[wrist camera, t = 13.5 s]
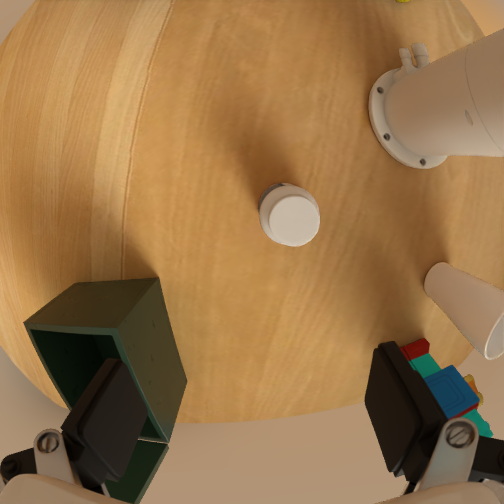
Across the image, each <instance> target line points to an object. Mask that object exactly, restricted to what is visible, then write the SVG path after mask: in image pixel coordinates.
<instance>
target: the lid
mask: <svg viewBox="0 0 504 504" xmlns="http://www.w3.org/2000/svg"><path fill="white" fill-rule="evenodd" d="M168 449H169V447H168V444H165V443H157V442H150V441H143V440H137V443H136V445H135V448H134V450H133V453H132V455H131V458H130V460H129V463H128V466H127V468H126V471H125V474H124V475H123V476H122V477H120V479H119V481H118V482H115V481H112V480H108V479H106V478H105V481H104V484H105V486H106V488H107V491H108V493H109V495H110V497H111V498H114V499H117V500H120V501H123V502H127V503H130V504H139V503H140V501H141V499H142V498H143V496H144V494H145V492H146V490H147V488H148V486H149V485H150V483H151V481H152V479H153V477H154V475H155V474H156V472H157V470H158V468H159V466H160V464H161V462H162V461H163V459H164V457H165V455H166V453H167V451H168Z"/></svg>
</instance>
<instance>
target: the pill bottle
mask: <svg viewBox="0 0 504 504" xmlns="http://www.w3.org/2000/svg"><path fill="white" fill-rule="evenodd" d="M258 211H259V219H260V224H261V227H262V229H263V230H264V232H265V233H266V235H267V236H268V237H269V238H270V239H272V240H273V241H275V242H277V243H280V244H284V245H287V246H301V245H304V244H306V243H308V242H309V241H310V240H312V239H313V237H314V236H315V235H316V233H317V231H318V229H319V225H320V216H319V208H318V204H317V202H316V200H315V199H314V197H313V196H312V195H311V194H310V193H309V192H308V191H306V190H305V189H303V188H301V187H298V186H295V185H292V184H289V183H277V184H274V185H271V186H270V187H268V188H267V189H266V190H265V191H264V192H263V193H262V195H261V197H260V200H259V204H258Z"/></svg>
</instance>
